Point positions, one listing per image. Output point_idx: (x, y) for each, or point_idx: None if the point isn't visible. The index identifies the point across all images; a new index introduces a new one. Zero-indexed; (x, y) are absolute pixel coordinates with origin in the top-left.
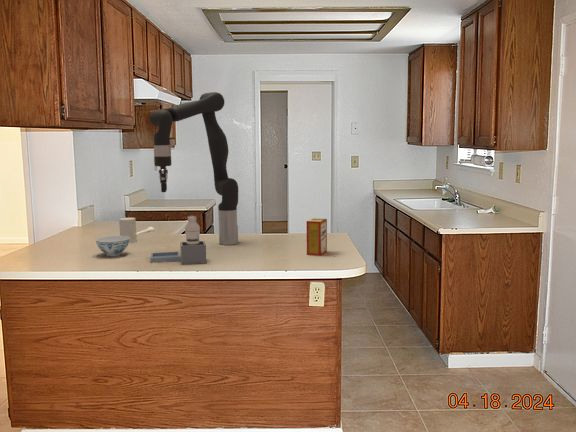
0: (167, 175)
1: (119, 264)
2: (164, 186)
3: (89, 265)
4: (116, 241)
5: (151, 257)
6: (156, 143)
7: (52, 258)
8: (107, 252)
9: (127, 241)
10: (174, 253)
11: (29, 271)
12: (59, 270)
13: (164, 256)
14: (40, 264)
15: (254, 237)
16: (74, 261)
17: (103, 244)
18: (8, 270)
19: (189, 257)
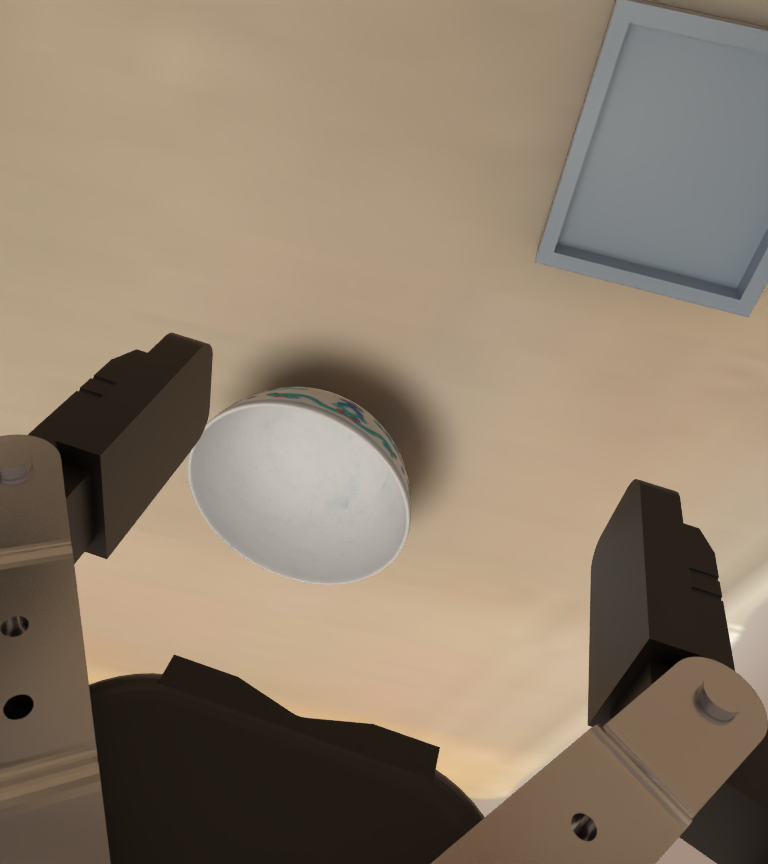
0: (32, 643)
1: (643, 475)
2: (719, 639)
3: (563, 590)
4: (409, 508)
5: (721, 303)
6: None
7: (304, 653)
8: (378, 493)
9: (359, 423)
10: (617, 54)
11: (538, 760)
12: None
13: (623, 158)
14: (415, 708)
15: None
16: (419, 612)
17: (385, 553)
18: (473, 790)
19: None
